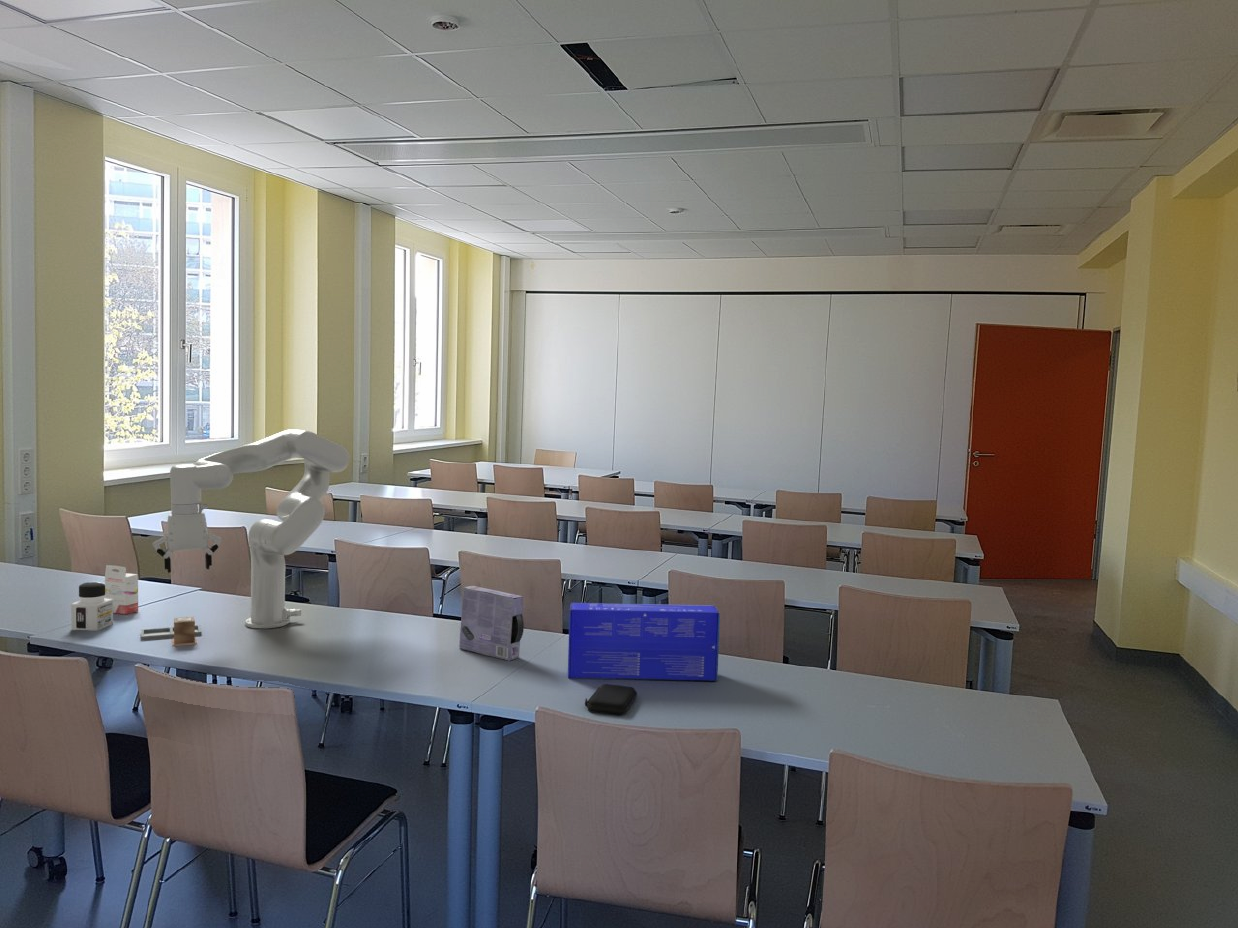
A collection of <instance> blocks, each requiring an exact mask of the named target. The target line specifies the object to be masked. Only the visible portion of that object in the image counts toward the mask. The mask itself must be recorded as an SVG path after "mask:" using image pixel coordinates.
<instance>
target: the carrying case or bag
mask: <svg viewBox="0 0 1238 928" xmlns="http://www.w3.org/2000/svg"><path fill="white" fill-rule="evenodd" d="M637 695H638V692H637V691H636V689H635V688H634V687H632V686H626V685H616V684H608V683H603V684H602V685H601V686H599V687H598V688H597V689H596V690H595V691H594V693H593V694H592V695H591V696H590V698H589V699H588V698H585V700H584V705H585V707H586V708H587V709H588V710H589V711H590V712H592V713H599V714H605V715H612V716H613V715H614V716H622V715H624V714H625V713H626V712H627V711H628V710H629V708H630V706H631V705H632V704H633V702H634V701H635V699H636V698H637V697H638V696H637Z"/></svg>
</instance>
